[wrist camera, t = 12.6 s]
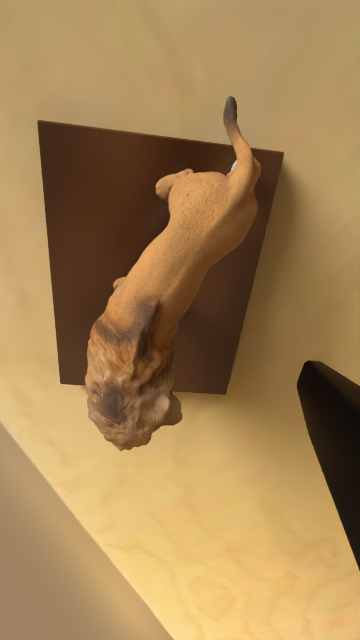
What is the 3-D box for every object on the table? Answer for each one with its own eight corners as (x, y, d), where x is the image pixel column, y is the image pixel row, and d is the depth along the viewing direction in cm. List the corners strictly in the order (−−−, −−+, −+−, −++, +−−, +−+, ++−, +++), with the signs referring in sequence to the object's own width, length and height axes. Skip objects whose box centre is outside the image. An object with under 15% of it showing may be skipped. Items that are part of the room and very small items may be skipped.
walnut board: (277, 151, 17) (284, 152, 16) (223, 384, 25) (226, 395, 24) (45, 121, 16) (36, 119, 15) (64, 373, 24) (60, 384, 23)
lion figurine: (172, 358, 22) (173, 480, 14) (95, 335, 21) (49, 454, 13) (277, 120, 15) (393, 98, 7) (172, 71, 14) (175, -18, 6)
